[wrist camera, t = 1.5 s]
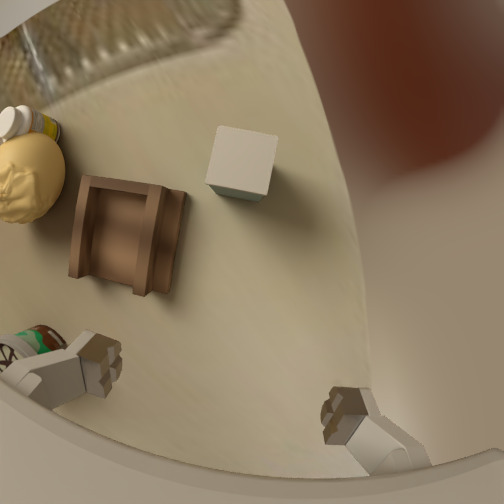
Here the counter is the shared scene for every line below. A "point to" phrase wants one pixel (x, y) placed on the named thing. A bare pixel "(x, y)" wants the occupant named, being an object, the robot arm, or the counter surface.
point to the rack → (126, 233)
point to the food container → (28, 344)
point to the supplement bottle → (26, 123)
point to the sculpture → (29, 177)
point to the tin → (241, 163)
